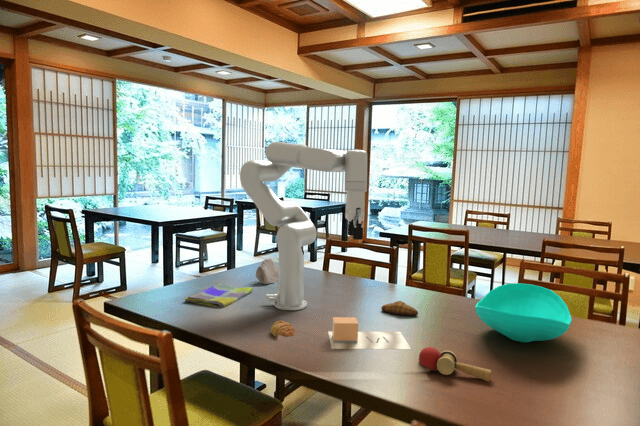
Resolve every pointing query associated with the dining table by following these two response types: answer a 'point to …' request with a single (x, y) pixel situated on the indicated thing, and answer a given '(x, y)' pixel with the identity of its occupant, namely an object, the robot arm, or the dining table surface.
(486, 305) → the table top decor
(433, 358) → the kendama
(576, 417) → the dining table surface
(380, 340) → the ash board
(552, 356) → the dining table surface
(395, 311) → the croissant
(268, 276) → the pumice stone
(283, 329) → the pastry
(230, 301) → the dish towel
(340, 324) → the block
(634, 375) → the dining table surface
